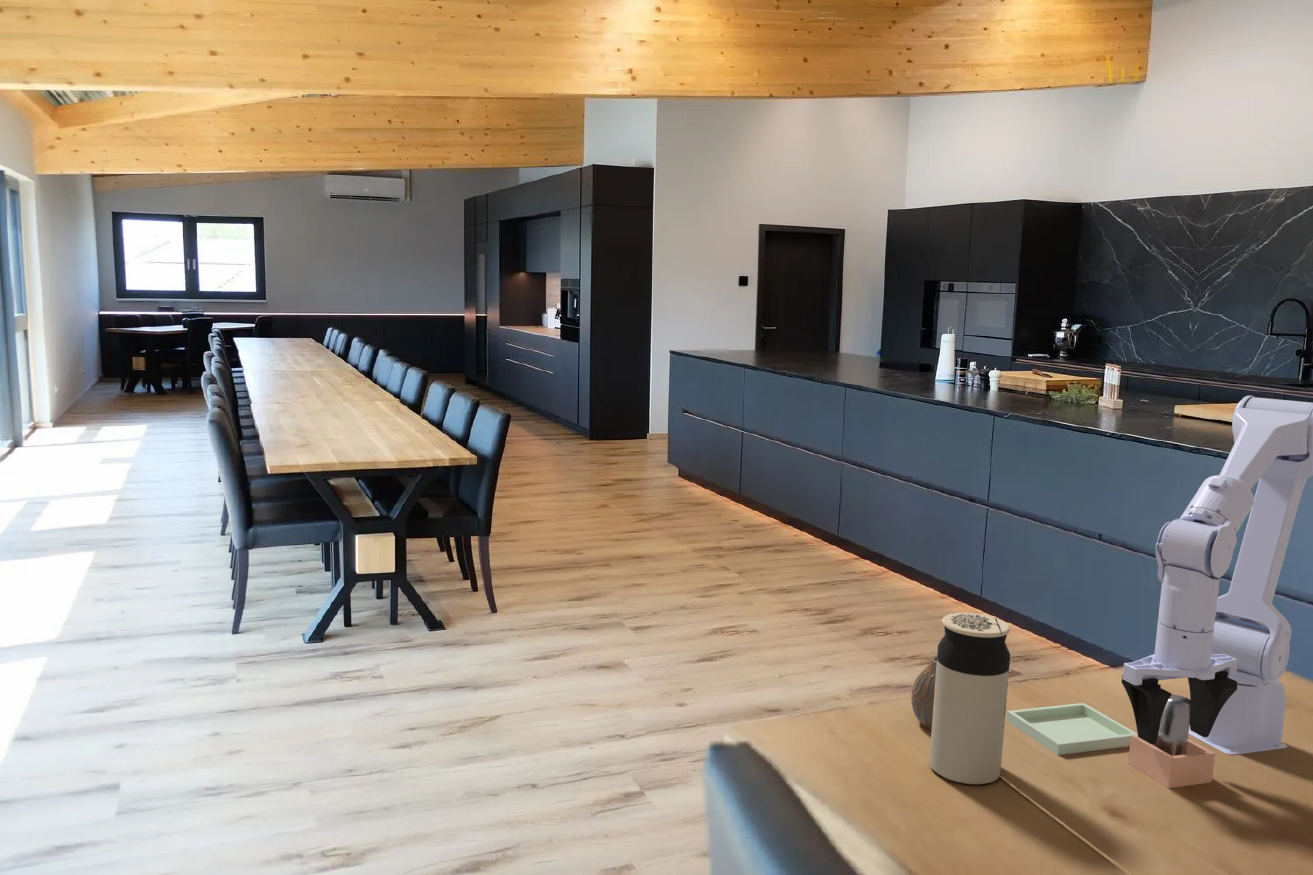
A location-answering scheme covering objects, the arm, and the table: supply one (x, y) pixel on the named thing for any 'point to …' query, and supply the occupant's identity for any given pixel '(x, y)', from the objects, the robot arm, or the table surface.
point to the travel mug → (970, 699)
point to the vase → (924, 694)
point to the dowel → (1175, 726)
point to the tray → (1071, 728)
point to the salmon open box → (1172, 763)
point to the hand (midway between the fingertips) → (1173, 736)
